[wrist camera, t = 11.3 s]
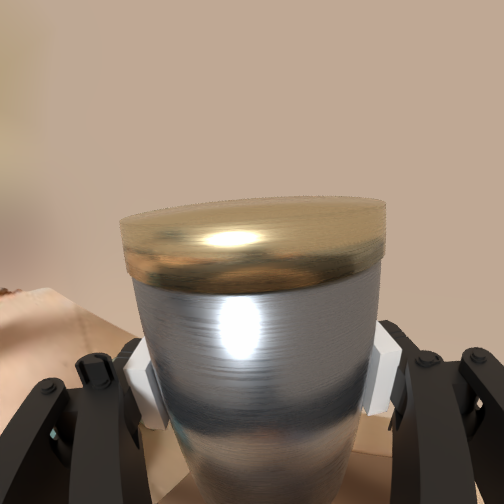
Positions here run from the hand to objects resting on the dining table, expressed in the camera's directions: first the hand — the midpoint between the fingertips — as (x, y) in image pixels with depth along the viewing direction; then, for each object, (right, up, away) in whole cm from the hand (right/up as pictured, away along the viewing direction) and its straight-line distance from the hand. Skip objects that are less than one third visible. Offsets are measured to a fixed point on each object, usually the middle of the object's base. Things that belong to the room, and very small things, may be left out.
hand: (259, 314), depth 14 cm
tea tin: (+1, -7, -3) cm, 8 cm away
